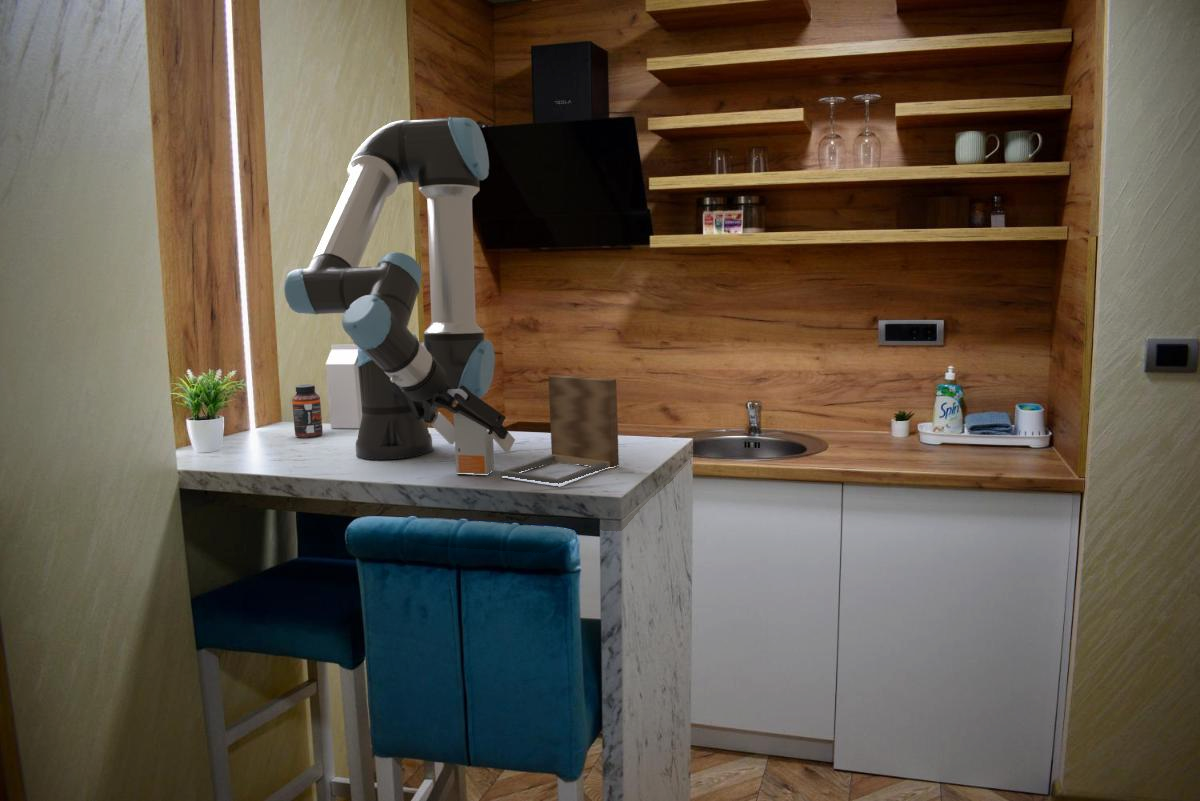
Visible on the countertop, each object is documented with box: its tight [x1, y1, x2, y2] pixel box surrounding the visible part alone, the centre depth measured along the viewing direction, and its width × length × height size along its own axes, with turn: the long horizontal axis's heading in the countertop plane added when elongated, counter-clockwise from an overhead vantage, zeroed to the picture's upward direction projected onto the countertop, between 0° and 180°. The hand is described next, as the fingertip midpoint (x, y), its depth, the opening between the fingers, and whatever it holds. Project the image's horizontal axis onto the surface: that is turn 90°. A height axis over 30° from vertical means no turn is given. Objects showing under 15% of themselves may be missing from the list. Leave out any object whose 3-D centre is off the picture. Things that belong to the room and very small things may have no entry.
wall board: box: [547, 374, 620, 467], centre depth 172 cm, size 14×2×16 cm, turn 54°
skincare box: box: [453, 413, 495, 474], centre depth 168 cm, size 6×4×12 cm
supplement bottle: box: [291, 384, 324, 439], centre depth 206 cm, size 6×6×11 cm
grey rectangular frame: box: [500, 453, 610, 484], centre depth 167 cm, size 13×15×1 cm
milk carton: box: [325, 343, 362, 429], centre depth 215 cm, size 7×7×19 cm
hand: (482, 442), depth 169 cm, fingers open, 13 cm apart
